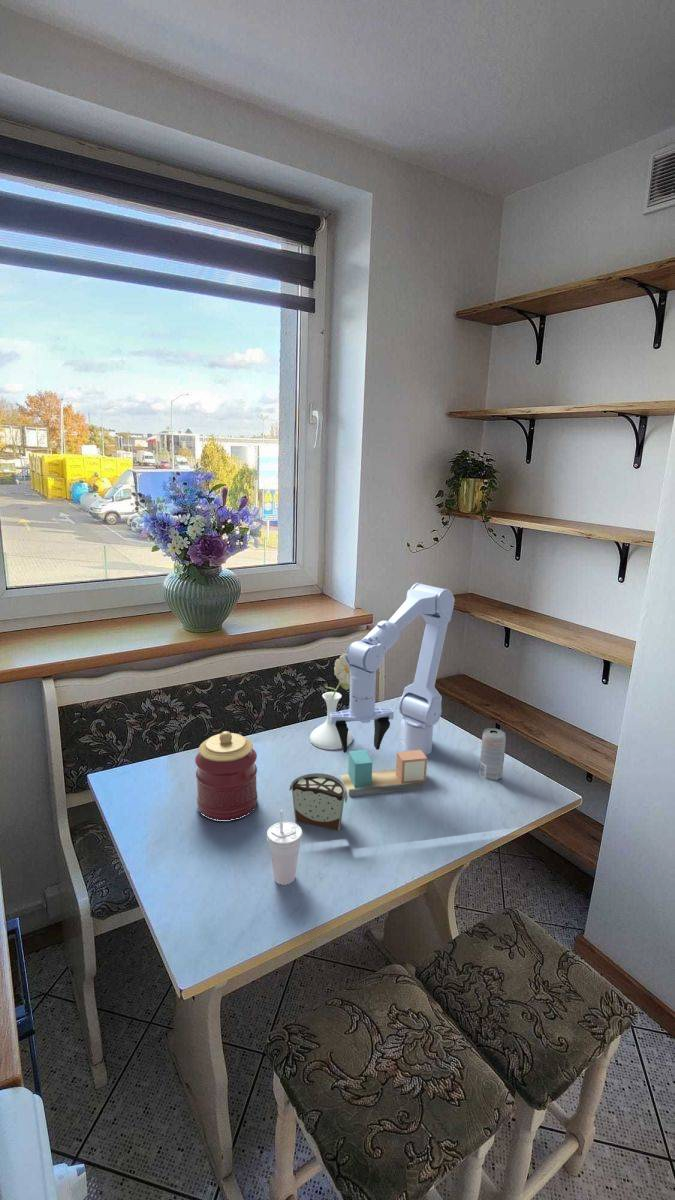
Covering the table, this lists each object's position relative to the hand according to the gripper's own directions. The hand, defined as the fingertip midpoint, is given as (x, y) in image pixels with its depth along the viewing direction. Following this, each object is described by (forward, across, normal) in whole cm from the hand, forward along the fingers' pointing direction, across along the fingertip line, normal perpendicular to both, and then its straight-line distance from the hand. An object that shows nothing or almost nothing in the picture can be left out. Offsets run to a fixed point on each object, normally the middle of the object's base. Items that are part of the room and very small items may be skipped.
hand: (360, 749), depth 139 cm
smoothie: (+10, -21, -28) cm, 36 cm away
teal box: (+8, 0, 0) cm, 8 cm away
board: (+9, +5, -2) cm, 10 cm away
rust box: (+8, +12, -2) cm, 14 cm away
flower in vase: (+9, -1, +20) cm, 23 cm away
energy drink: (+9, +32, -4) cm, 33 cm away
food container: (+9, -12, -12) cm, 19 cm away
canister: (+10, -30, -2) cm, 32 cm away
